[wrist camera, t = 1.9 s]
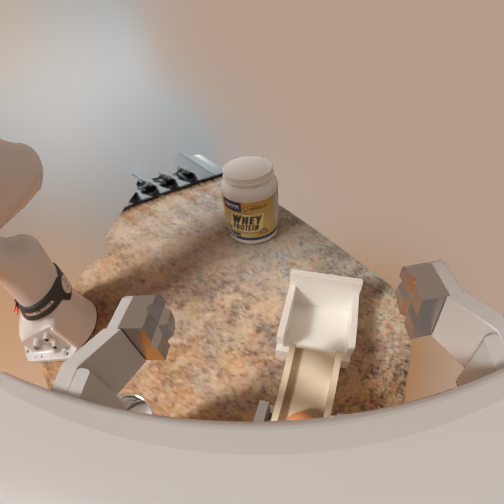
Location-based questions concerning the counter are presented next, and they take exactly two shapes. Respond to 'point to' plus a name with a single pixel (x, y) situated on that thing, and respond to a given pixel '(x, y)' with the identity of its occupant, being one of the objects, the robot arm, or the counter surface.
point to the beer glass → (141, 404)
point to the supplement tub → (250, 199)
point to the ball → (299, 416)
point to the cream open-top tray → (320, 314)
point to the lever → (307, 384)
